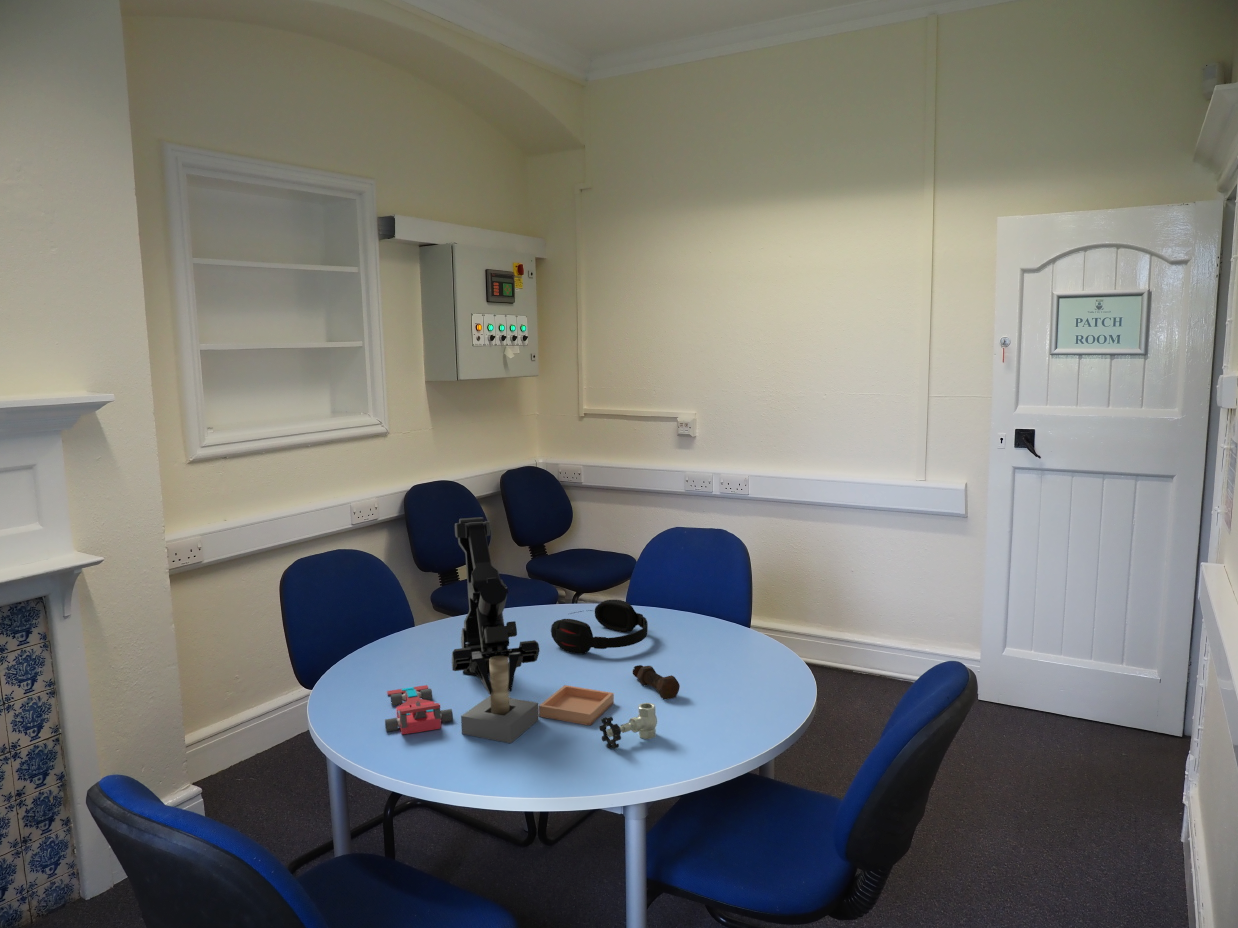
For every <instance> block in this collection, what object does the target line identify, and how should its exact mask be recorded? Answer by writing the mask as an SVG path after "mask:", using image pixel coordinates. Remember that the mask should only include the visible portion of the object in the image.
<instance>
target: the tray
mask: <svg viewBox="0 0 1238 928" xmlns="http://www.w3.org/2000/svg"><path fill="white" fill-rule="evenodd" d="M614 695H615V694H614V692H609V691H605V690H597V689H590V688H585V687H580V686H571V685H567V684H564V685H563V686H562V687H560V688H559V689H558V690H557V691H555V692H554V693H553V694H552V695H550V696H549V697H547V698H546V699H545V700H544V701H543V702H542V703H540V704H538V716H539V717H541V718H546V719H552V720H558V721H563V722H568V723H574V724H580V725H584V726H585V725H586V726H591V725H592V724H594V723H595V722H596V721H597V720H598V719H599V718H600V717H601V716H602V715H603V714H605V712H607V710H608V709H610V708H611V706H613V705H614V703H615V702H614V701H615V700H614V697H615V696H614Z"/></svg>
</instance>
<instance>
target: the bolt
mask: <svg viewBox="0 0 1238 928" xmlns="http://www.w3.org/2000/svg"><path fill="white" fill-rule="evenodd" d="M632 674H633V676H634V677H635V678H637V680H638V682H639V683H640V685H642V686H644V685H647V686H651V687H652V688H654V689H655V690H656V691H657V693H658V694H659V696H660V698H661V699H662V698H663V700H664V699H666V700H671V699H674V698H676V697H677V696H678V693H679V691H680V686H681V684H680V683H679V681H678V679H677V678H676V677H675V676H674V675H668V676H667V675H666V676H662V675H660V674H659V673H657V672H656V670H655V669H654V668H653V666H652V665H644V666H643V665H642V664H640V665H635V666H634V667H633V669H632Z"/></svg>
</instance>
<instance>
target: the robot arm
mask: <svg viewBox="0 0 1238 928" xmlns="http://www.w3.org/2000/svg"><path fill="white" fill-rule="evenodd" d="M490 523H491V522H490V520H485V519H484V517H480V516H479V517H467V518H459V520H458V522H457V523H454V535H455V538H457V542H458V546H459V547H460V548H461V550H462V551H463V552H464V555H465V566H466V567H465V569H466V571H465V572H466V580H467V581H466V583H467V597H468V613H467V615H466V617H465V619H464V620H463V628H462V629H461V634H460V635H461V636H460V643H461V644H460V645H461V648H454V650H453V651H452V653H451V668H452V671H454V672H459V671H462V674H465V675H466V674H467V675H473V676H477V677H478V678H479V680H480V681H481V683H482V684H483V686H484V688H485V689H486V691H487V693H488V694H489V695H490V694H491V684H490V669H489V659H490V658H491V657H493V656H506V657H508V674H509V693H510V692H512V690H513V684H514V679H515V674H516V671H517V668H520V667H521V666H522V664H527V663H535V662H537V661H538V658H539V654H540V644H539V643H538V641H536V640H535V639H534V640H525V641H519V646H518V647H514V648H508V647H509V646H510V638H514V637H516V636H517V635H518V629H517V628H518V627H517V623H516V620H515V621H507V622H506V624H505V622H504V621H505V619H504V610H505V606H506V602H507V596H508V593H509V588H508V586H507V585H506V584H505V583H504V580H503V579H501V577H500V574H499V570H498V569H497V568H496V567H494V566H493V565H492V561H491V555H490V550H489V544H488V537H489V536H491V525H490Z"/></svg>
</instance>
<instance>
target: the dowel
mask: <svg viewBox="0 0 1238 928" xmlns="http://www.w3.org/2000/svg"><path fill="white" fill-rule="evenodd" d="M508 662H509V659H508V657H506V656H493V657H491V658H490V659H489V669H490V673H489V680H490V684H491V694H489V696H490V698H491V713H493V714H498V715H506V714H507V713H508V712H510V706H509V698H510V691H509V674H508Z"/></svg>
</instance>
